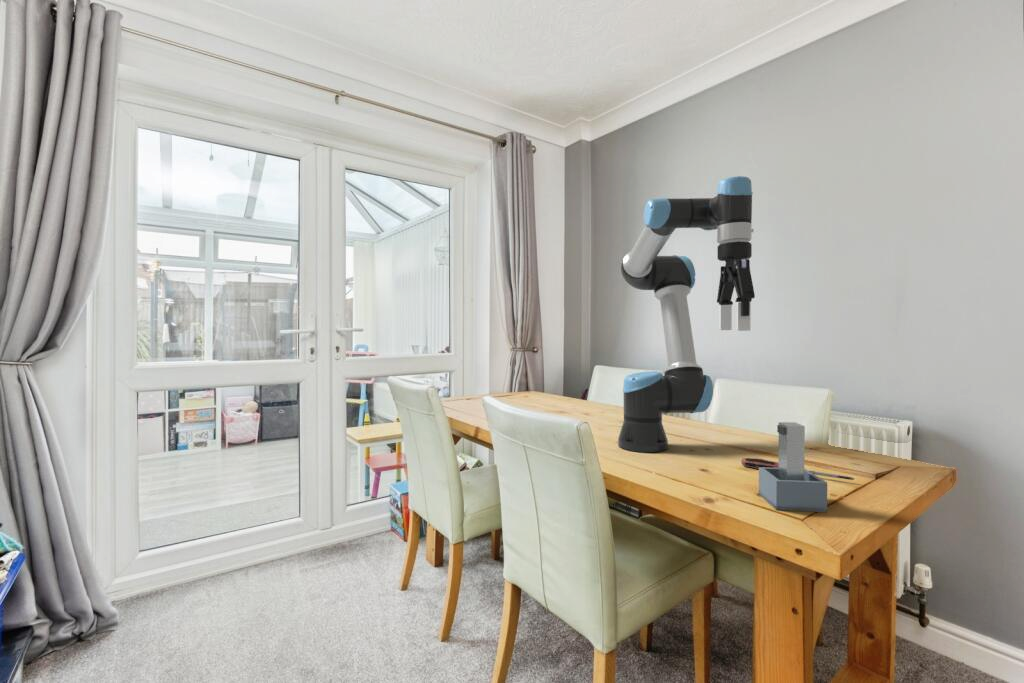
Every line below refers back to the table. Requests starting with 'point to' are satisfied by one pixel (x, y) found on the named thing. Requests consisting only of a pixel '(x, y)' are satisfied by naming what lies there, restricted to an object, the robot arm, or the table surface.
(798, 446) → the brushed metal post
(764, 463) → the screwdriver
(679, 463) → the table surface
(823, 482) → the caddy
